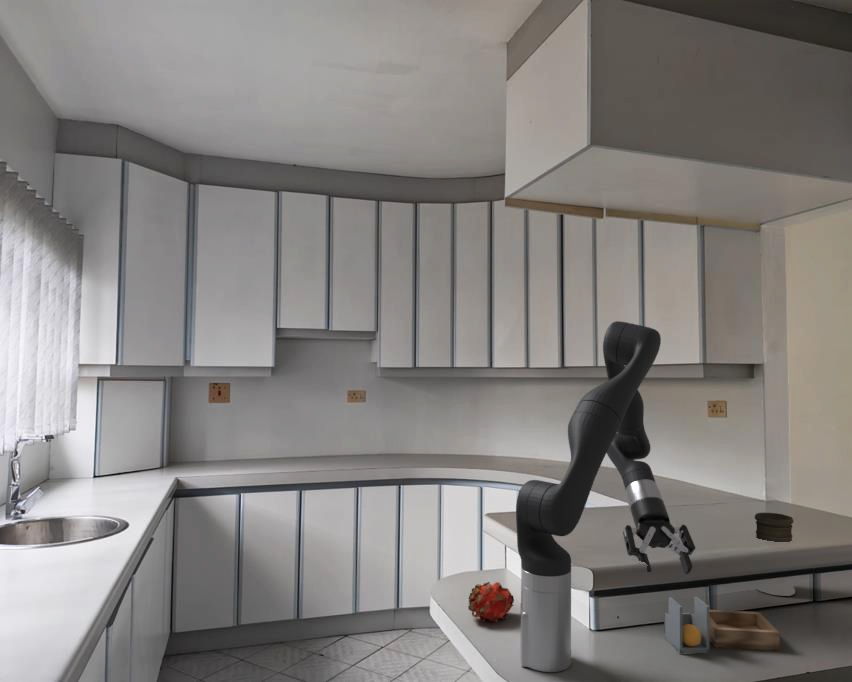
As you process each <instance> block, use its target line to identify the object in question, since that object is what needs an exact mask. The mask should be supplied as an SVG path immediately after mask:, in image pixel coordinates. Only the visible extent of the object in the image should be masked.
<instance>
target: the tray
mask: <svg viewBox="0 0 852 682" xmlns="http://www.w3.org/2000/svg"><path fill="white" fill-rule="evenodd" d="M780 637H781V633H780V631H779V630H778V629H777V628H776V626H775V627H774V625H773V624H771V622H770V621H769V620H768V619H767V618H766V617H765V616H764V615H763V614H762V613H761V612H759V611H744V610H743V611H739V610H724V609H709V641H710V640H711V641H710V642H711V643H712V645H713V647H715V648H719V647H721V648H722V649H723V648H724V649H740V650H755V649H761V650H760V651H773V650H779V651H780V652H781V638H780Z"/></svg>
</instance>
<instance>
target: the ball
mask: <svg viewBox="0 0 852 682" xmlns="http://www.w3.org/2000/svg"><path fill="white" fill-rule="evenodd" d="M700 641H701V633H700V631H699V629H698V628H697V627H696V626H694V625H691V624H686V625H684V626H682V642H683V643H684V644H685V645H687V646H690V647H694V646H697V645H698V644H699V643H700Z"/></svg>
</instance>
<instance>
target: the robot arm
mask: <svg viewBox="0 0 852 682" xmlns="http://www.w3.org/2000/svg"><path fill="white" fill-rule="evenodd" d="M661 341H662V340H661V334H660V332H659V331H658V330H656V329H655V328H652V327H648V326H645V325H642V324H641V325H640V324H635V323H631V322H625V321H621V320H620V321H619V320H617V321H614V322H612V323H610V324H609V326H608V327H607V329H606V331H605V333H604V337H603V342H602V352H603V353H602V355H603V360H604V366H605V369H606V375H607V379H608V380H607V381H605V382H603V383H600V384H599V385H597V386H596V387H594V388H593V389H591V390H589V391H588V392H586V393H585V394H584V395H583V396H582V397H581V399H580V400H579V402H578V403H577V405H576V407H575V408H574V409H575V410H574V411H573V413H572V415H571V417H570V418H569V422H568V424H567V425H568V426H567V438H568V439H567V440H568V445H569V451H570V462H569V465H568V469H567V470H566V473H565V475H564V477H563V479H562V480H561V481H560V482H559V483H556V482H555V483H554V482H550V481H549V482H548V481H544V480H538V479H531V480H528V481H526V482H525V483H524V484H523V485H522V486H521V488H520V490H519V491H518V495H517V497H516V504H515V519H516V520H515V522H516V525H515V526H516V543H517V552H518V555H519V557H520V561H521V563H520V565H521V568H520V571H521V572H520V573H521V577H520V578H521V579H520V580H521V581H520V590H521V591H520V595H521V596H520V633H519V634H520V636H519V637H520V644H519V645H520V646H519V647H520V648H519V649H520V665H521V667H523V668H524V667H527V668H529V669H532V670H534V671H538V672H544V673H556V672H562V671H564V670H567V669H569V668H570V666H571V663H572V558H571V555H570V553H569V552H568V551H567V550H566V549H565V548H563V547H562V546H561V545H560V544H559V543H558V542H557V541H556V539H555V538H554V537H553V536H557V537H566V536H569V535H571V534H572V533H573V531H574V530H575V528H576V527H577V526H578V524H579V521H580V519H581V517H582V515H583V513H584V510H585V507H586V504H587V501H588V499H589V495H590V493H591V491H592V490H591V489H592V488H593V486H594V482H595V480H596V476H597V475H598V472H599V470H600V468H601V466H602V463H603V461H604V458H605V456H606V455H607V456H608V458H609V459H610V461H611V463H612V464H613V466H614V467H615V468H616V469H617V472H618V473H619V475H620V477H621V480H622V483H623V486H624V490H625V492H626V500H627V503H628V507H629V510H630V513H631V516H632V520H633V523H634V525H635V526H634V527H632V526H631V525H629V524H627V525H626V526H625V528H624V529H623V531H622V534H623V539H624V544H625V549H626V552H627V555H628V556H629V557H631V556H634V557H636V558H637V559H638V562H639V561H641V562H645V563H646V564H647V565H648V566H647V572H650V573H651V572H652V566H651V565H650V564H651V563H650V560H649V556H648V553H646V550H647V548H648V547H651V549H655V548H656V549H657V548H661V549H663V548H664V549H665V548H667V549H669V550H670V551H671V552H674V553H675V554H676V555H677V556H678V557H679V561H681V562H680V564H681V565H680V566H681V567H682V570H683V573H684V574H685V575H688V574H690V572H691V571H692V569H693V564H692V561H691V557H690V556H692V554H693V552H694V551H695V550H696V545H695V543H694V541H693V538H692V535H691V534H690V531H689V529H688V527H687V526H686V525H685V524H681V525H680V526H677V527H676V526H675V527H674V526H673V525H672V524H671V521H670V517H669V513H668V511H667V510H668V509H667V508H666V505H665V502H664V499H663V496H662V493H661V490H660V489H659V487H658V485H657V483H656V479H655V477H654V474H653V470H652V469H651V466H650V465H649V463H647V462H645V461H642V460H643V459H646V458H647V457H648V456H649V455H650V452H651V443H650V440H649V437H648V435H647V433H646V430H645V426H644V414H645V413H644V412H645V411H644V407H645V406H644V401H643V397H642V395H641V392H640V391H639V388H640V386H641V384H642V383H643V381H644V379H645V378H646V376H647V375H648V373H649V371H650V369H651V367H652V366H653V364H654V363H655V361H656V358H657V356H658V353H659V351H660V347H661ZM675 535H676V536H675ZM635 536H637V537H638V538H639V539H640V540H641V541H642V542H641V544H640V546H639V547H636V542H635Z"/></svg>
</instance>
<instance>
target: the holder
mask: <svg viewBox="0 0 852 682" xmlns="http://www.w3.org/2000/svg"><path fill="white" fill-rule="evenodd" d="M693 598H694V601H693V602H694V607H693V608H694V611H693V612H694V613H693V612H683V606H682V605H680V603H678V601H676V600H675V599H674V598H672V597H671V596H668V612H664V614H663V630H664V631H663V633H664V635H663V639H664V640H665V641H666V642H667V641H668V642H669V643H670V644H671V645H672V646H673V647H674V648H675V649H676V650H675V649H674V648H673V647H672V646H671V645H670V644H669V643H668V642H667V643H668V644H669V645H670V646H671V647H672V648H673V649H674V650H675V651H676V652H677V651H678V652H679V653H681V654H680V655H684V654H683V653H709V654H710V639H709V610H710V605H708V604H706V603H705V602H704V601H703V600H702V599H700V597H698V596H694V597H693ZM686 624H691V625H694V626H696V627H697V628H698V629H699V631H700V633H701V641H700V643H699V644H698V645H697V646H694V647H690V646H687V645H685V644H684V643H683V642H682V626H684V625H686ZM678 652H677V653H678ZM679 653H678V654H679Z"/></svg>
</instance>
